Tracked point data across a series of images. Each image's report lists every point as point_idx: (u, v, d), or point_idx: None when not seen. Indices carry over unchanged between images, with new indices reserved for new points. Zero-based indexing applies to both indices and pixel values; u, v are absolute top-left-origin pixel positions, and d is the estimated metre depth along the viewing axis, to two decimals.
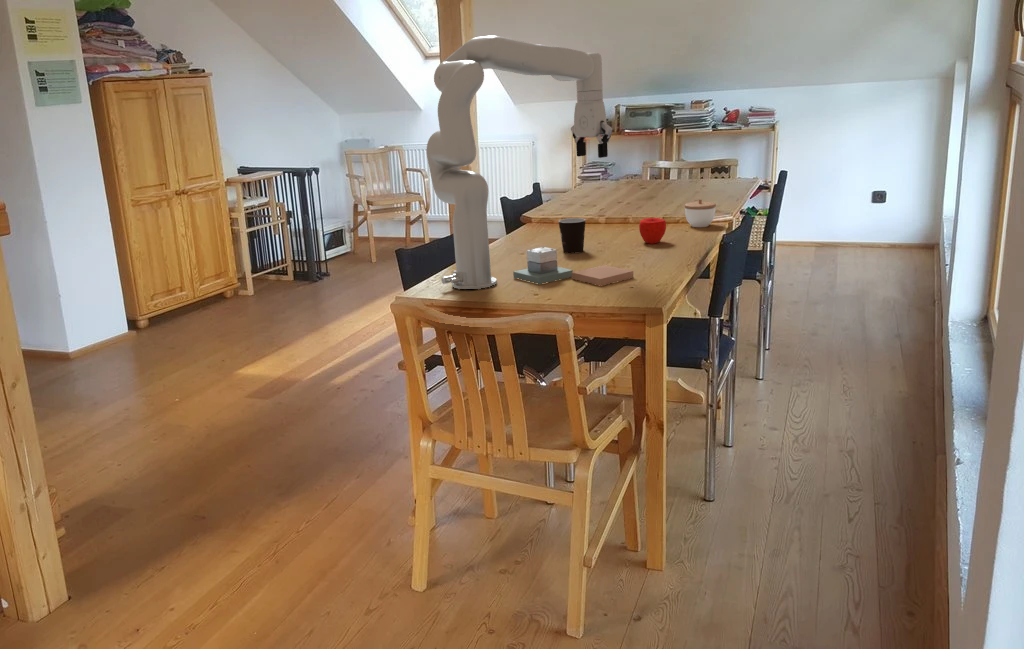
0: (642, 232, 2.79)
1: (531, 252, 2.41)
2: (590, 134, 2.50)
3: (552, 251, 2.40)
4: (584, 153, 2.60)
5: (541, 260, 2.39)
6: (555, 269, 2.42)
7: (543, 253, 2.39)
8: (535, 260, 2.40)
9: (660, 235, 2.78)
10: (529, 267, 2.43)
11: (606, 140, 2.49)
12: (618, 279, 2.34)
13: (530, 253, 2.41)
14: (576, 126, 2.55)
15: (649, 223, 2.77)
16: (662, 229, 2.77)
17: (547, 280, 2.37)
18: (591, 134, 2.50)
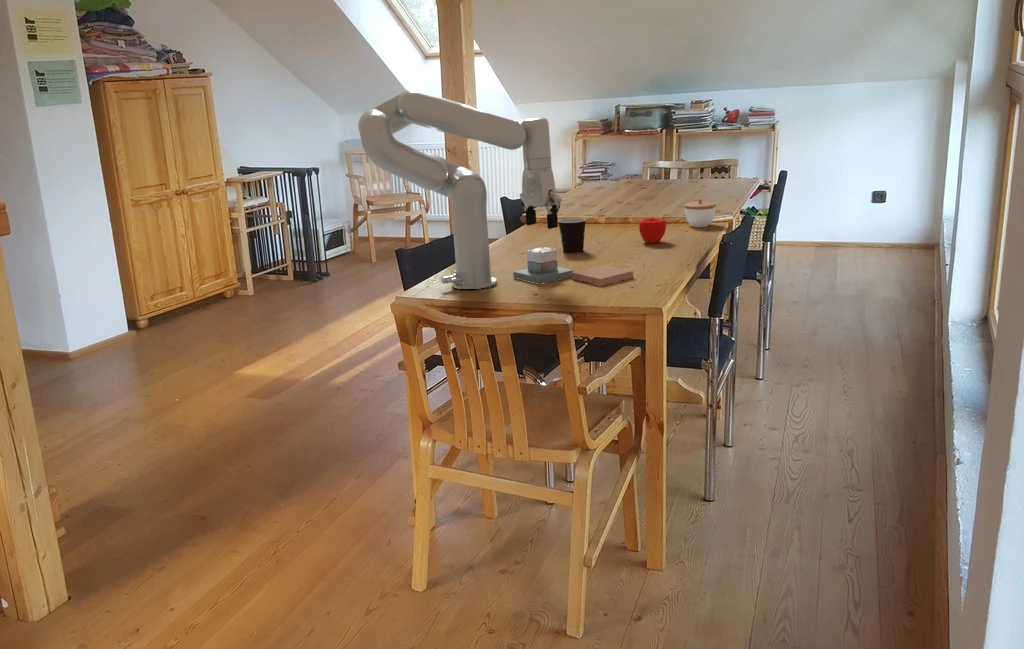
0: (642, 232, 2.79)
1: (531, 252, 2.41)
2: (538, 204, 2.34)
3: (552, 251, 2.40)
4: (534, 221, 2.44)
5: (541, 260, 2.39)
6: (555, 269, 2.42)
7: (543, 253, 2.39)
8: (535, 260, 2.40)
9: (660, 235, 2.78)
10: (529, 267, 2.43)
11: (555, 210, 2.33)
12: (618, 279, 2.34)
13: (530, 253, 2.41)
14: (524, 194, 2.39)
15: (649, 223, 2.77)
16: (662, 229, 2.77)
17: (547, 280, 2.37)
18: (539, 204, 2.34)
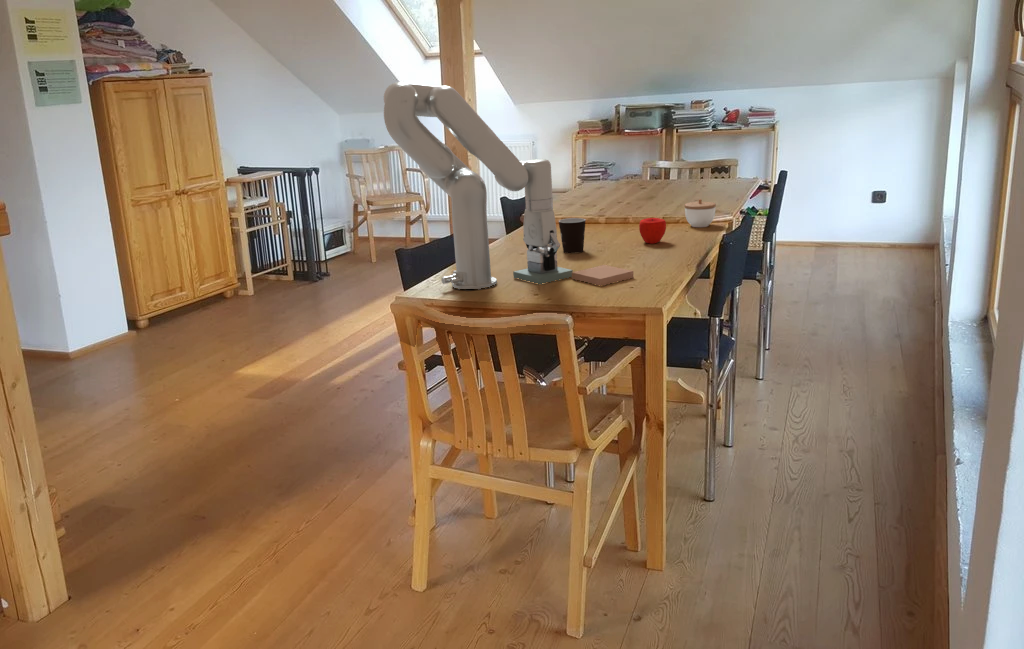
0: (642, 232, 2.79)
1: (531, 252, 2.41)
2: (539, 244, 2.38)
3: None
4: None
5: (541, 260, 2.39)
6: (555, 269, 2.42)
7: (543, 253, 2.39)
8: (535, 260, 2.40)
9: (660, 235, 2.78)
10: (529, 267, 2.43)
11: (553, 253, 2.38)
12: (618, 279, 2.34)
13: (530, 253, 2.41)
14: (525, 234, 2.42)
15: (649, 223, 2.77)
16: (662, 229, 2.77)
17: (547, 280, 2.37)
18: (540, 245, 2.37)
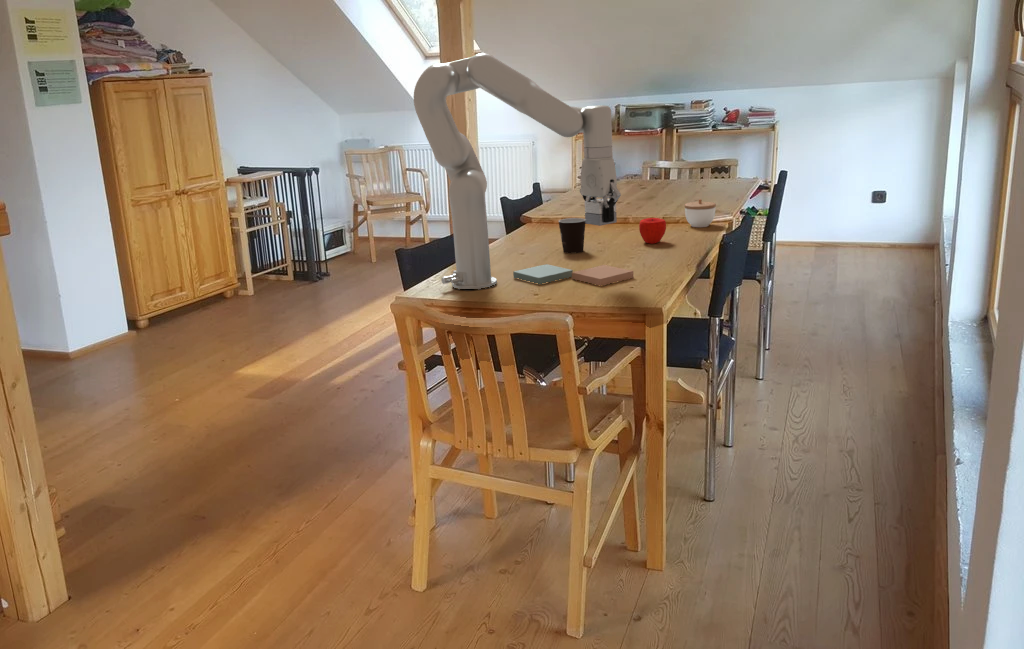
0: (642, 232, 2.79)
1: (589, 203, 2.32)
2: (599, 194, 2.28)
3: None
4: None
5: (601, 210, 2.29)
6: (614, 221, 2.33)
7: (602, 203, 2.29)
8: (594, 211, 2.31)
9: (660, 235, 2.78)
10: (587, 219, 2.34)
11: (612, 204, 2.29)
12: (618, 279, 2.34)
13: (589, 204, 2.32)
14: (583, 184, 2.32)
15: (649, 223, 2.77)
16: (662, 229, 2.77)
17: (547, 280, 2.37)
18: (600, 195, 2.28)
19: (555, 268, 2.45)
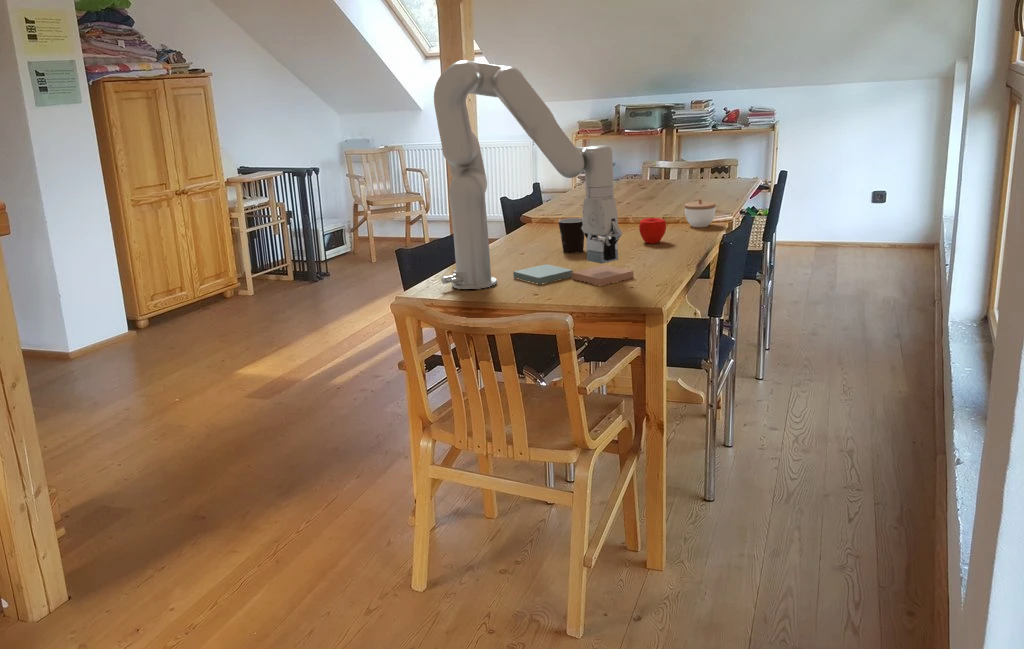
0: (642, 232, 2.79)
1: (591, 241, 2.35)
2: (600, 233, 2.31)
3: None
4: None
5: (602, 249, 2.32)
6: (616, 258, 2.36)
7: (604, 242, 2.32)
8: (595, 249, 2.34)
9: (660, 235, 2.78)
10: (589, 256, 2.37)
11: (614, 242, 2.31)
12: (618, 279, 2.34)
13: (591, 242, 2.35)
14: (585, 222, 2.35)
15: (649, 223, 2.77)
16: (662, 229, 2.77)
17: (547, 280, 2.37)
18: (601, 233, 2.31)
19: (555, 268, 2.45)
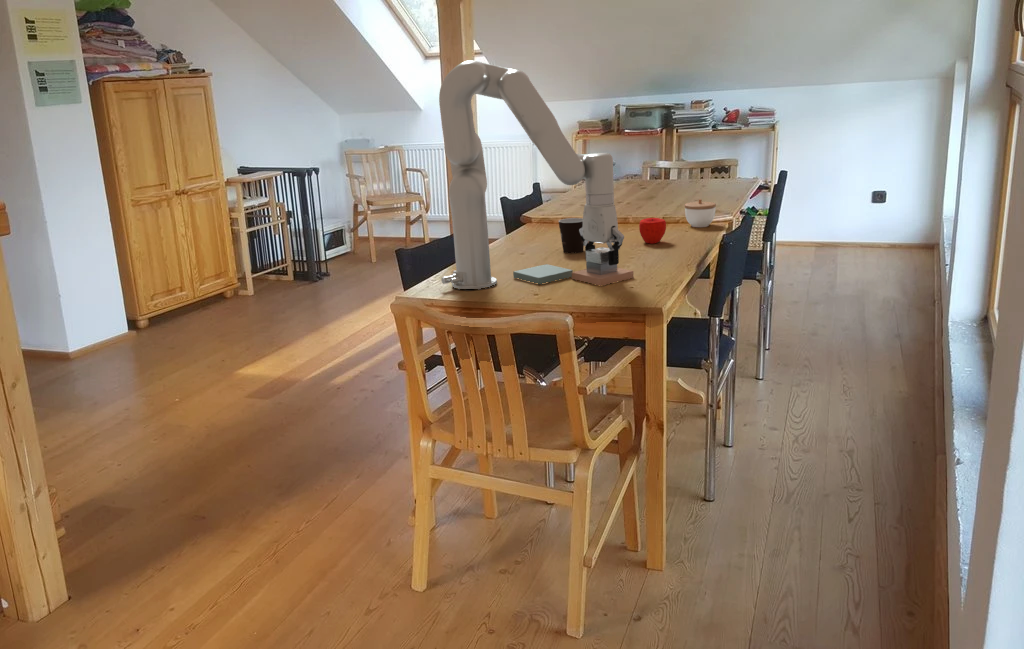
0: (642, 232, 2.79)
1: (591, 252, 2.35)
2: (600, 240, 2.32)
3: None
4: None
5: (602, 260, 2.33)
6: (615, 270, 2.37)
7: (604, 253, 2.33)
8: (595, 261, 2.35)
9: (660, 235, 2.78)
10: (588, 268, 2.38)
11: (617, 247, 2.31)
12: (618, 279, 2.34)
13: (590, 253, 2.36)
14: (585, 229, 2.36)
15: (649, 223, 2.77)
16: (662, 229, 2.77)
17: (547, 280, 2.37)
18: (601, 241, 2.31)
19: (555, 268, 2.45)
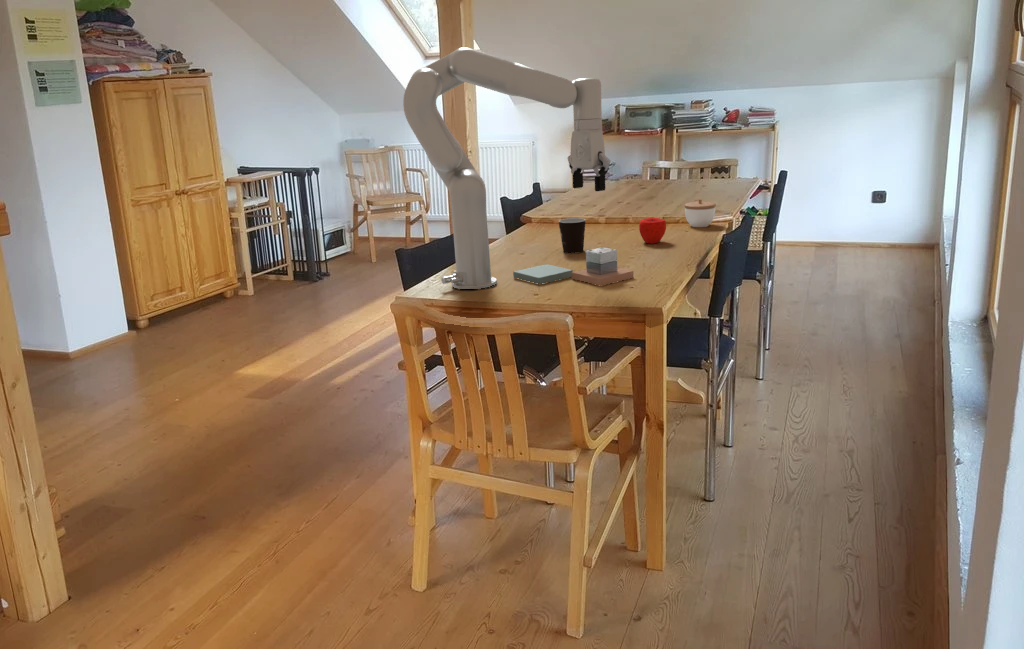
0: (642, 232, 2.79)
1: (591, 252, 2.35)
2: (587, 166, 2.32)
3: (612, 251, 2.35)
4: (581, 185, 2.41)
5: (602, 260, 2.33)
6: (615, 270, 2.37)
7: (604, 253, 2.33)
8: (595, 261, 2.35)
9: (660, 235, 2.78)
10: (588, 268, 2.38)
11: (604, 173, 2.30)
12: (618, 279, 2.34)
13: (590, 253, 2.36)
14: (572, 156, 2.36)
15: (649, 223, 2.77)
16: (662, 229, 2.77)
17: (547, 280, 2.37)
18: (588, 166, 2.31)
19: (555, 268, 2.45)
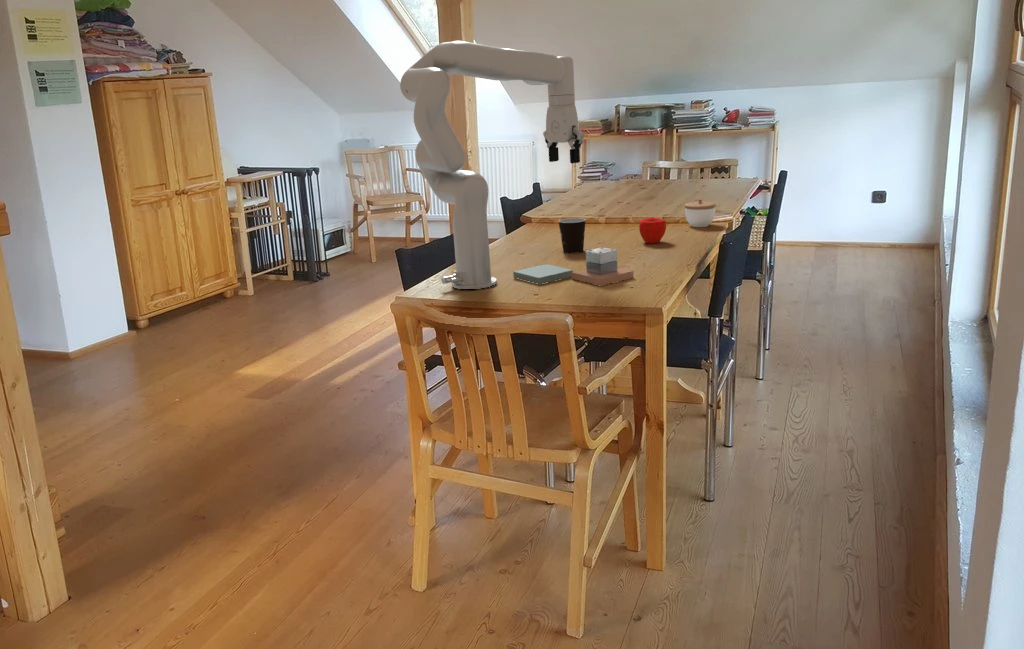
0: (642, 232, 2.79)
1: (591, 252, 2.35)
2: (562, 139, 2.45)
3: (612, 251, 2.35)
4: (557, 158, 2.55)
5: (602, 260, 2.33)
6: (615, 270, 2.37)
7: (604, 253, 2.33)
8: (595, 261, 2.35)
9: (660, 235, 2.78)
10: (588, 268, 2.38)
11: (578, 145, 2.44)
12: (618, 279, 2.34)
13: (590, 253, 2.36)
14: (548, 131, 2.49)
15: (649, 223, 2.77)
16: (662, 229, 2.77)
17: (547, 280, 2.37)
18: (563, 140, 2.45)
19: (555, 268, 2.45)
